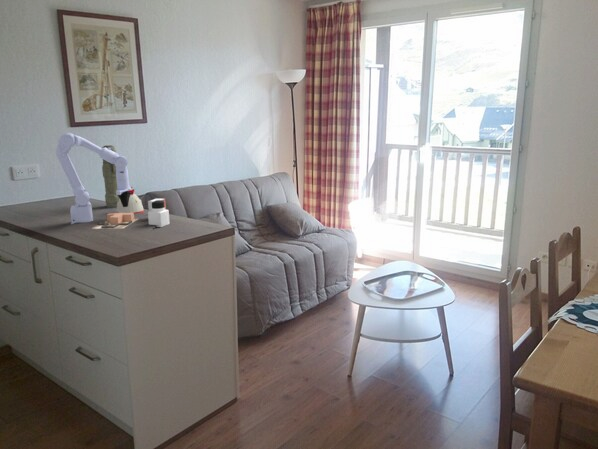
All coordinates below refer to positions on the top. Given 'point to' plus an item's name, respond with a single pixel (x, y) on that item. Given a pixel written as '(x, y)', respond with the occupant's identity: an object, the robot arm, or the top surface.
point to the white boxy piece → (154, 200)
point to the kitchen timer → (131, 205)
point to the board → (112, 225)
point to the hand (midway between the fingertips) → (125, 206)
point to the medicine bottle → (158, 214)
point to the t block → (119, 217)
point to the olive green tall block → (110, 182)
